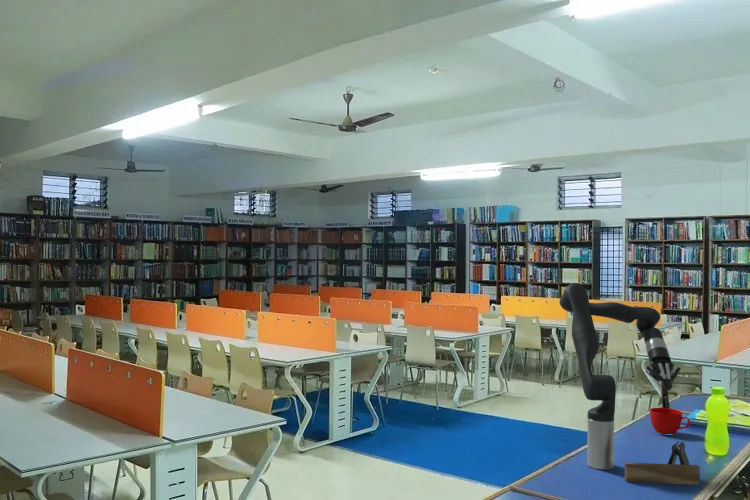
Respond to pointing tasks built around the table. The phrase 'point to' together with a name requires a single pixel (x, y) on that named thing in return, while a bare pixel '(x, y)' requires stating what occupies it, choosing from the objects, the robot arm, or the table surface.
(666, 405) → the statue
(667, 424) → the ceramic cup
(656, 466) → the board
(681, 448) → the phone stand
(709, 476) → the table surface
